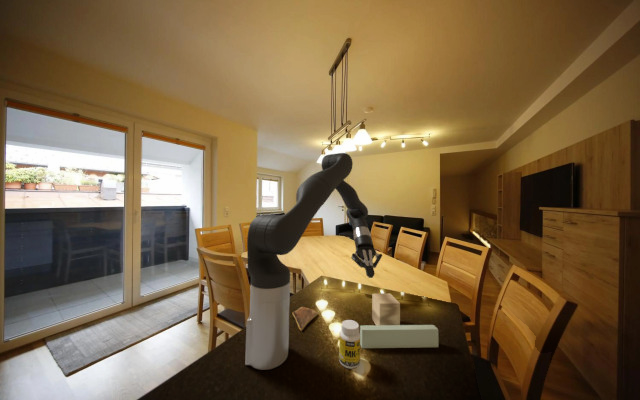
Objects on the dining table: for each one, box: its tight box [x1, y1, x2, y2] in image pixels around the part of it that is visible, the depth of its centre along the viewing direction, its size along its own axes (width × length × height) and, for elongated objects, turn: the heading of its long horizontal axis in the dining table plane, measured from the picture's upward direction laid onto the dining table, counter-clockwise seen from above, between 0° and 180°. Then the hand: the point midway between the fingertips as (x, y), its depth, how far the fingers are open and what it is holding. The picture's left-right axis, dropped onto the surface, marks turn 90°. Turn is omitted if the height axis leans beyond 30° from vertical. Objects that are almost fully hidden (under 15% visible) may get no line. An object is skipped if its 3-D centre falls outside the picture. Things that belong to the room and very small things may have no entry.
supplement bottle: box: [338, 319, 361, 370], centre depth 47 cm, size 5×5×8 cm
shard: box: [292, 306, 319, 332], centre depth 64 cm, size 11×8×2 cm
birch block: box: [371, 292, 401, 325], centre depth 63 cm, size 6×7×8 cm
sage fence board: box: [359, 324, 439, 349], centre depth 53 cm, size 20×2×4 cm, turn 93°
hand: (371, 276), depth 77 cm, fingers closed
